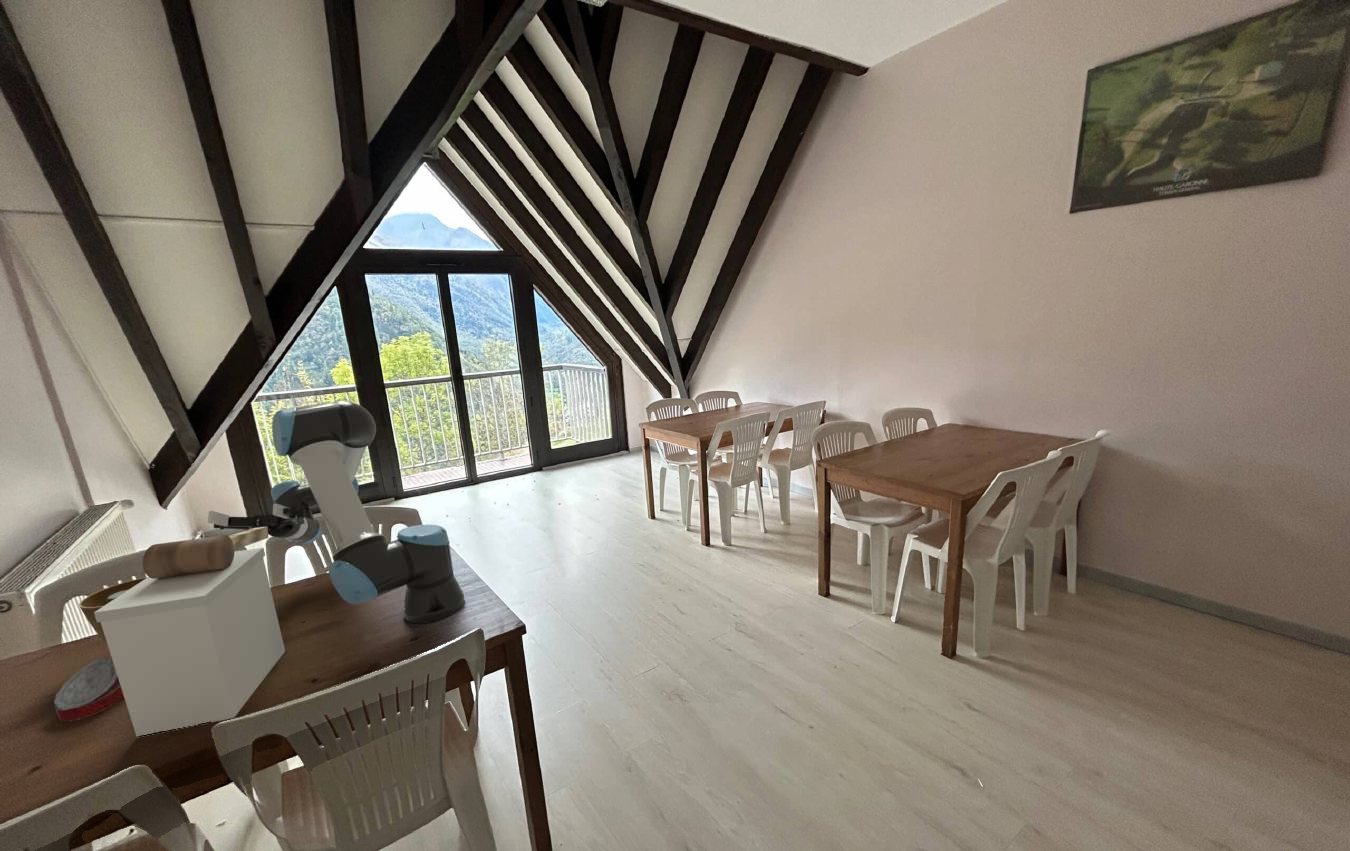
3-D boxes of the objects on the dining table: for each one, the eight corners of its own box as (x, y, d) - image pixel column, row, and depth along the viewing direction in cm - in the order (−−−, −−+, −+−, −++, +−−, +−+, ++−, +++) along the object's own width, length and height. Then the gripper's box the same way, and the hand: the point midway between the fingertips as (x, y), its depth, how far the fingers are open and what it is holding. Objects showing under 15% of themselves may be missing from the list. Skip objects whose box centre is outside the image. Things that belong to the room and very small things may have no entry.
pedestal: (237, 717, 103) (204, 595, 97) (133, 738, 98) (93, 612, 93) (287, 650, 123) (263, 547, 118) (204, 665, 119) (175, 559, 114)
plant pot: (197, 634, 132) (182, 578, 129) (122, 672, 118) (103, 610, 115) (159, 627, 136) (143, 572, 133) (83, 663, 122) (63, 603, 119)
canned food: (132, 713, 112) (134, 683, 108) (61, 741, 103) (61, 709, 100) (117, 676, 116) (118, 645, 113) (48, 700, 108) (47, 668, 104)
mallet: (215, 572, 104) (212, 538, 104) (144, 582, 102) (140, 547, 102) (289, 542, 134) (286, 516, 134) (235, 549, 131) (232, 522, 131)
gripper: (334, 531, 148) (299, 520, 128) (233, 545, 141) (180, 535, 122) (335, 506, 150) (301, 491, 130) (235, 518, 144) (183, 504, 124)
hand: (242, 512), depth 126 cm, fingers open, 13 cm apart
